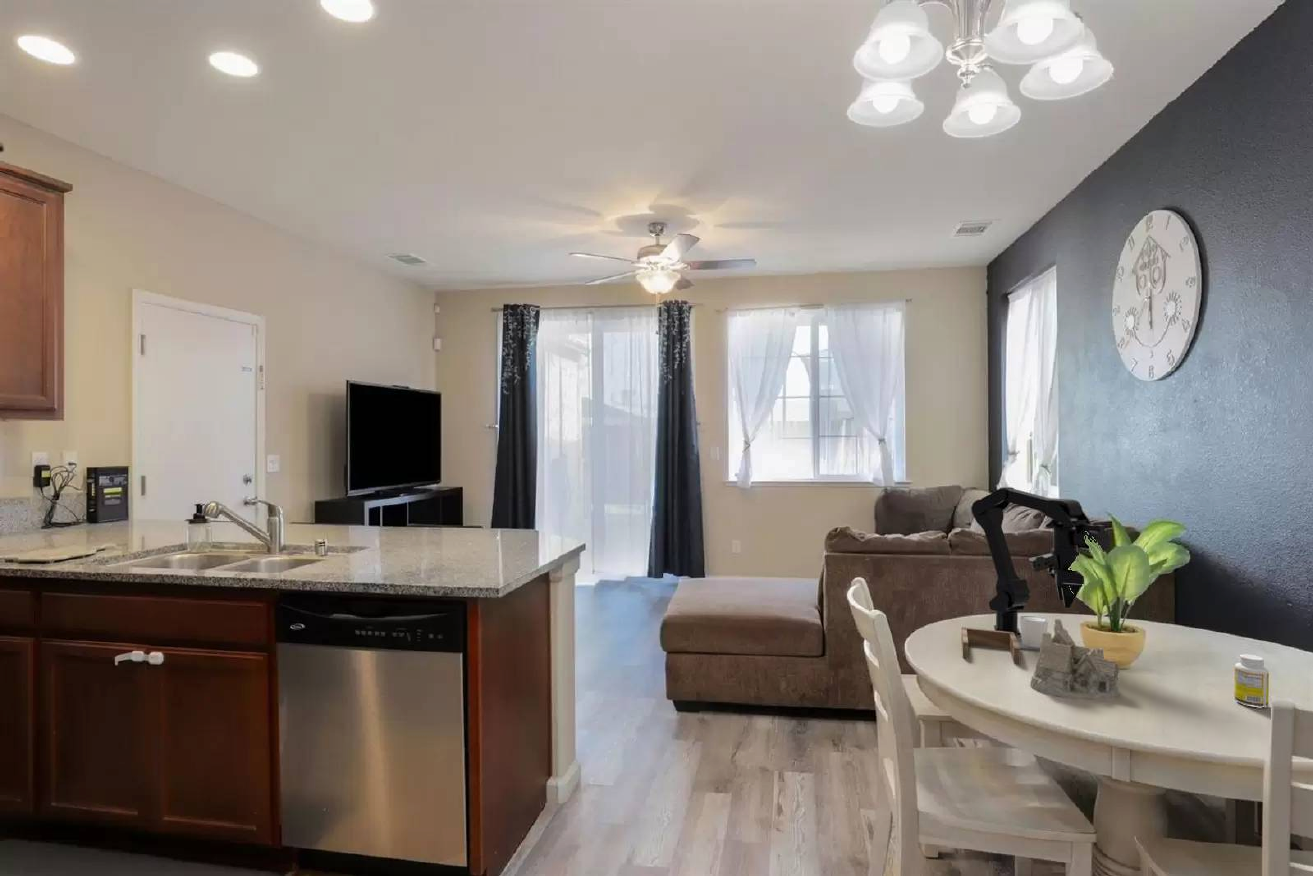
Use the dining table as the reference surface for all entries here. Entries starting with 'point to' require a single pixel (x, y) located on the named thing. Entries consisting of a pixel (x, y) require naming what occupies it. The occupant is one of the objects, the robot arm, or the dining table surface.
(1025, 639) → the white cup
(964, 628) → the brown wooden u-shaped piece
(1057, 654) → the ceramic cottage
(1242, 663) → the supplement bottle
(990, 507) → the robot arm
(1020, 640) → the coaster
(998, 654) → the dining table surface
